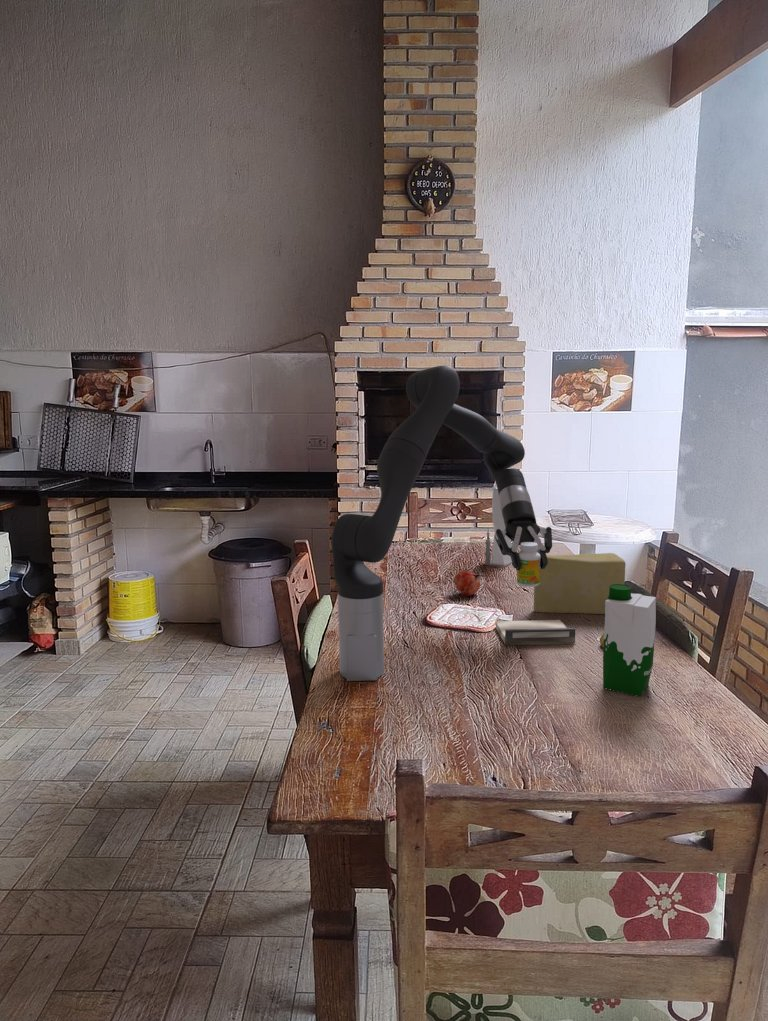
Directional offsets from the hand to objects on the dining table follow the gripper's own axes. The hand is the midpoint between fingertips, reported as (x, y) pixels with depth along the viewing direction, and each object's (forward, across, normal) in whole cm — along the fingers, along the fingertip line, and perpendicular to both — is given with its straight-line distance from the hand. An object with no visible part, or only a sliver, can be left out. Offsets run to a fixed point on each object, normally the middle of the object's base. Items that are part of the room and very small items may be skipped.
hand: (531, 567), depth 160 cm
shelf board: (+12, +1, +12) cm, 17 cm away
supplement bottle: (+2, 0, +5) cm, 5 cm away
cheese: (+1, +18, +24) cm, 30 cm away
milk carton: (+33, +10, -9) cm, 35 cm away
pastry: (+20, +17, +4) cm, 27 cm away
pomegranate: (-12, -7, +36) cm, 39 cm away
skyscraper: (-34, +12, +60) cm, 70 cm away
